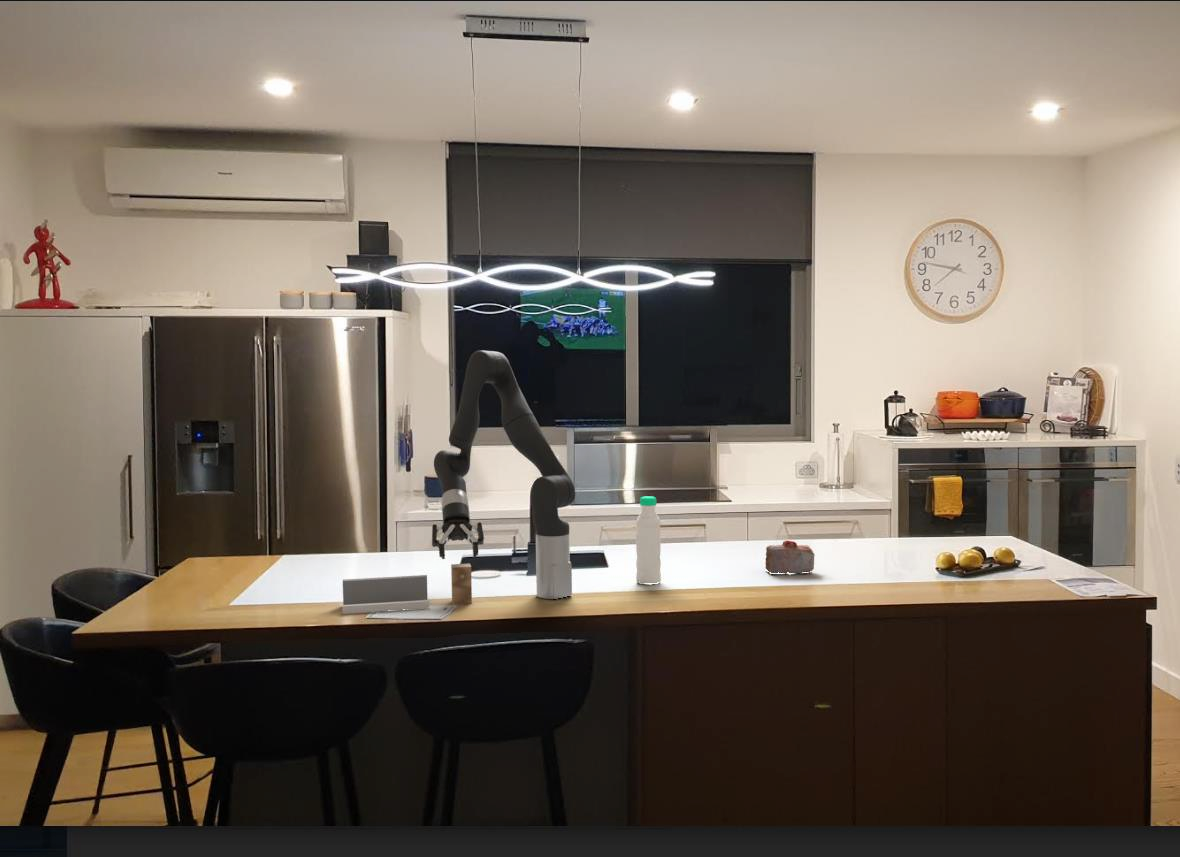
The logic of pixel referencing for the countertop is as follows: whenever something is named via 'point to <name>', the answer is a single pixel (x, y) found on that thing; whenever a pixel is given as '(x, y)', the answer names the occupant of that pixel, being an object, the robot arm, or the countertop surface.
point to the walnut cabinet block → (461, 584)
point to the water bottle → (648, 542)
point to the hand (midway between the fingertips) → (459, 556)
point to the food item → (789, 558)
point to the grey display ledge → (384, 594)
